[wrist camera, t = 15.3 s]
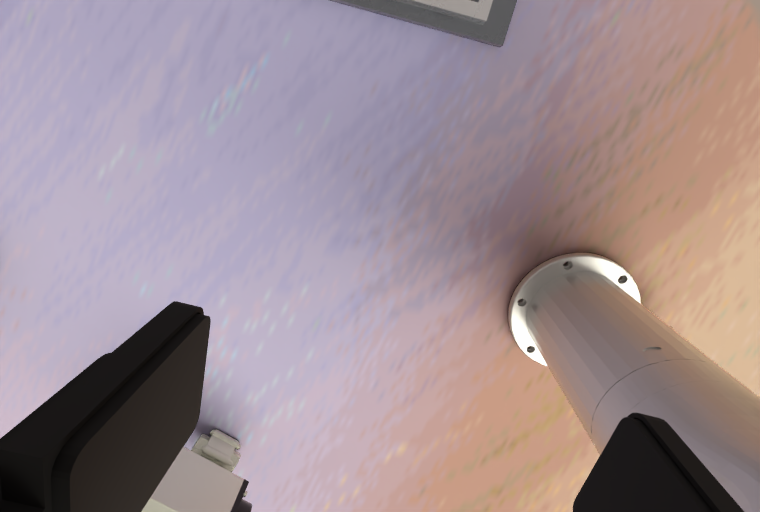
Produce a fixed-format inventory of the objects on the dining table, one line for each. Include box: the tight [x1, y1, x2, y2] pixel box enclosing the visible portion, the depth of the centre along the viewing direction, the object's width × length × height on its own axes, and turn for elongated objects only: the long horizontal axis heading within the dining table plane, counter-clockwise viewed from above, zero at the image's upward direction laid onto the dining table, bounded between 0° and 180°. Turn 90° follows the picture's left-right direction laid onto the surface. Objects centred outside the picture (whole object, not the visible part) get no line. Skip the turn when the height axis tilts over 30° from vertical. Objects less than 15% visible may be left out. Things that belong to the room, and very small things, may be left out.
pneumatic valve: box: [141, 429, 252, 512], centre depth 43 cm, size 6×12×12 cm, turn 55°
